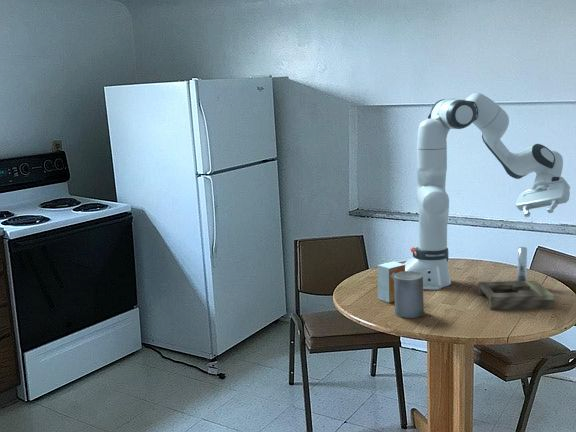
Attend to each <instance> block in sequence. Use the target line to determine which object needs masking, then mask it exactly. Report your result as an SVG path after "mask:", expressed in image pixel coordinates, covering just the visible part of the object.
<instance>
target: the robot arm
mask: <svg viewBox="0 0 576 432" xmlns="http://www.w3.org/2000/svg"><path fill="white" fill-rule="evenodd" d="M509 118H510V117H509V115H508V113H507V112H506V110H504V109H503V108H502V106H500V105H499V104H497V103H496V102H495V101H494V100H492V99H491V98H490V97H488V96H487V95H484V94H483V93H481V92H473V93H472V94H470V95H469V96H467V97H466V98H465V99H456V98H446V99H445V98H444V99H439V100H437V101H436V102H435V103H434V104H433V105H432V107H431V108H430V112H429V115H428V116H427V119H424V120H422V121H421V122H420V124H419V126H418V130H417V137H416V169H417V170H416V189H415V190H416V193H415V194H416V196H415V198H416V201H417V203H418V221H417V222H418V223H417V247H415V246H411V247H410V251H411V252H410V253H412V257H410V258H409V259H408V260H406V261H405V262H404V263H403V264H405V271H413V272H419V273H421V274H422V275H423V290H433V291H435V290H441V289H442V288H445V287H448V286H450V285H451V284H452V280H451V276H450V272H449V265H448V263H449V252H450V251H449V247H448V221H449V213H450V198H449V197H450V196H449V194H448V193H447V192H446V180H447V177H446V176H447V170H448V155H447V154H448V151H447V149H448V147H447V146H448V143H447V137H448V134H449V132H450V130H462V129H465V128H467V127H469V126H471V125H472V124H473V125H474V126H475V127H476V128H477V129H478V130H480V132H481V133H482V135H481V139H482V142H483V143H484V144H485V146H486V147H487V148H488V150H489V151H490V152H491V154H492V155H493V156H494V157H495V158H496V159H497V161H498V162H499V163H500V164H501V165H502V167H503V169H504V171H505V172H506V174H507V175H509V177H511V178H513V179H516V180H520V179H522V178H524V177H526V176H527V175H529V174H531V173H536V176H535V178H534V180H533V181H534V182H533V185H532V188H529V189H524V190H523V191H521V192H520V194H519V195H518V197H517V199H516V202H515V207H516V209H518V210H519V211H520V212H522V211H523V212H524V213H523V217H525V218H528V217H530V216H531V212H530V210H533V209H539V208H540V209H541V208H544V207H545V208H546V207H547V208H546V211H547V213H548V214H553V213H554V210H555V209H556V208H557V207H558V205H561V204H562V205H563V204H566V203H568V202H569V201H570V195H571V194H570V193H571V191H570V189H571V186H570V185H569V183H568V182H567V180H566V179H565V178H564V177H563V176H562V173H563V166H564V159H563V156H562V154H561V153H559V152H558V151H556V150H551V149H549V148H548V147H547V146H545V145H543V144H541V143H535V144H533V145H530V146H527V147H525V148H524V149H522V150H520V151H518V152H511V151H510V150H509V149H508V147H507V146H506V145H505V144H504V143H503V142H502V140H501V138H502V137H503V136H504V135H505V134H506V131H507V130H508V127H509V123H510V119H509Z"/></svg>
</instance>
